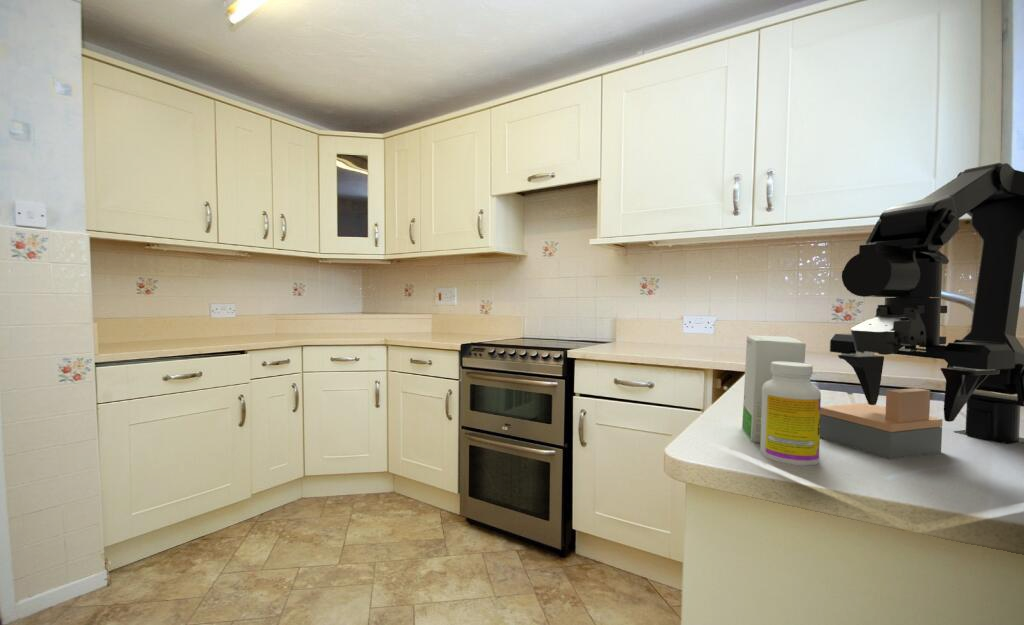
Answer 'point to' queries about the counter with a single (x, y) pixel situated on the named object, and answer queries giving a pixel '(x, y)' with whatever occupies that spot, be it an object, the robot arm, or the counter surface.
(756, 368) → the skincare box
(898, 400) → the lid
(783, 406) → the supplement bottle
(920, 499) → the counter surface
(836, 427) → the tub
